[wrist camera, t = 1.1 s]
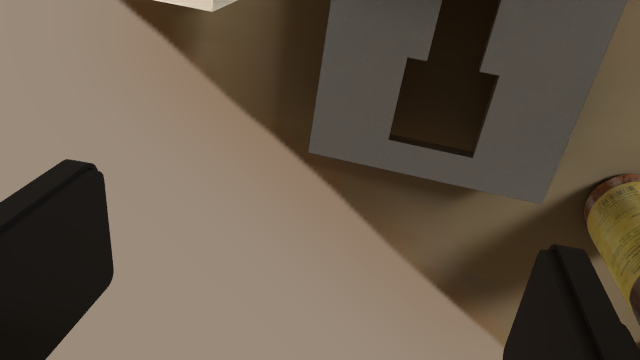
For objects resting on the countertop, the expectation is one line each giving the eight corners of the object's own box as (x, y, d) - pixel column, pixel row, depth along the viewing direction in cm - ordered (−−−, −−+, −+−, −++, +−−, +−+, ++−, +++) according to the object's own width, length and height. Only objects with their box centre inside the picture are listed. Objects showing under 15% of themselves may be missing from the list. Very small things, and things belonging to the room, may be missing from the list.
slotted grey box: (364, -124, 33) (350, -130, 28) (623, -81, 31) (660, -79, 26) (324, 121, 41) (308, 152, 36) (528, 165, 40) (541, 204, 34)
